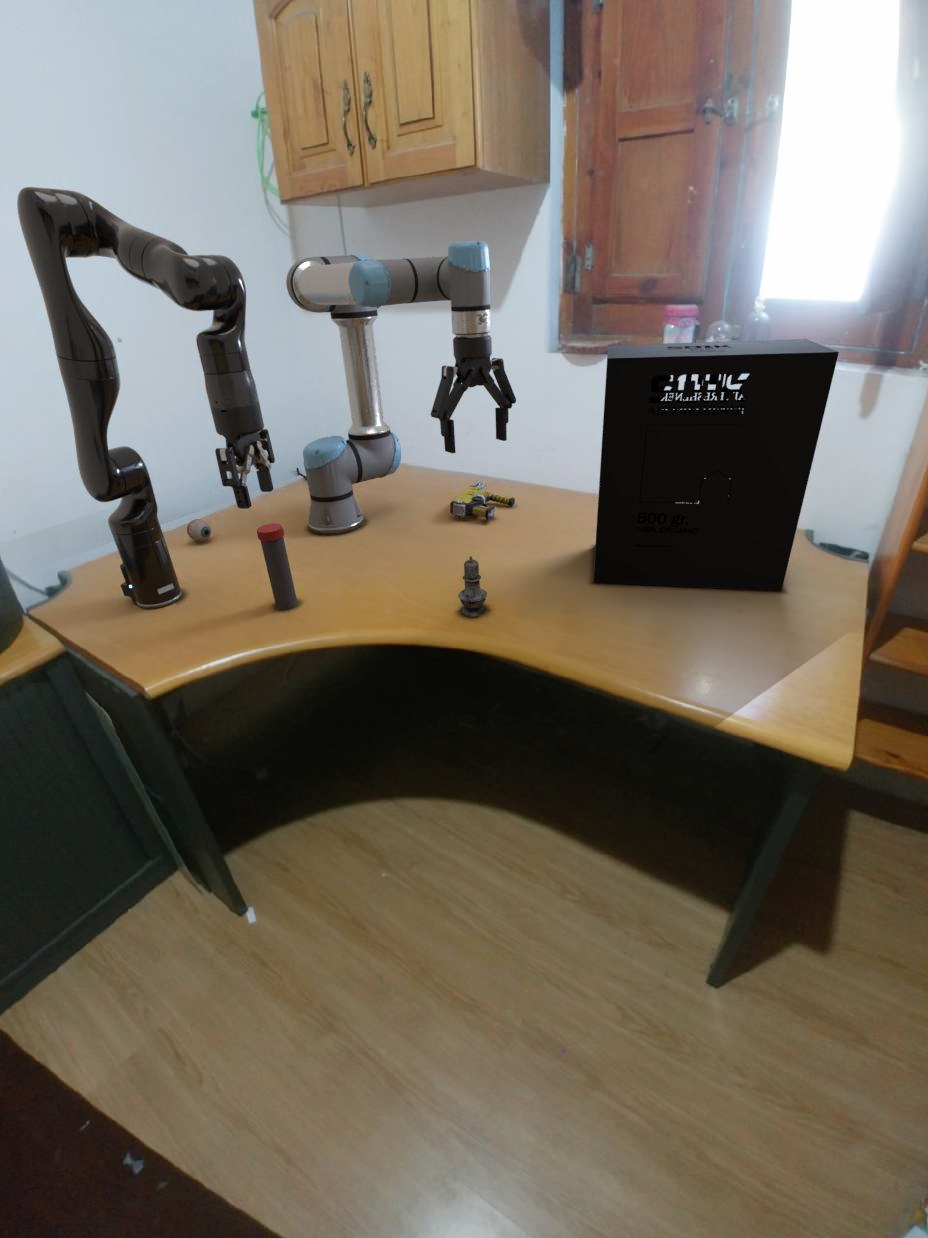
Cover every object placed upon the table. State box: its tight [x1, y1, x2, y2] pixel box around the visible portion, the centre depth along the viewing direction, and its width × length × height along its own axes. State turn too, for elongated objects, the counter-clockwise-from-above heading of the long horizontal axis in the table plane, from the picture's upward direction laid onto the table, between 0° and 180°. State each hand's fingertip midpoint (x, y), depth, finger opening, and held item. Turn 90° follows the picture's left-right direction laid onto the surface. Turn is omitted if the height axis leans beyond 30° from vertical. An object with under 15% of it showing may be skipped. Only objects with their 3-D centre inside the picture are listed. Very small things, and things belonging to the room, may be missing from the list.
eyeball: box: [186, 518, 212, 542], centre depth 162 cm, size 6×6×6 cm
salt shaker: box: [457, 555, 488, 617], centre depth 120 cm, size 6×6×12 cm
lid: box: [256, 522, 285, 542], centre depth 121 cm, size 5×5×2 cm
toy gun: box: [449, 480, 516, 522], centre depth 174 cm, size 5×24×15 cm
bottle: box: [259, 536, 298, 611], centre depth 125 cm, size 4×4×17 cm
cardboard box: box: [593, 338, 840, 592], centre depth 124 cm, size 38×20×45 cm, turn 78°
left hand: (256, 499), depth 104 cm, fingers open, 8 cm apart
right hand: (476, 445), depth 127 cm, fingers open, 13 cm apart
